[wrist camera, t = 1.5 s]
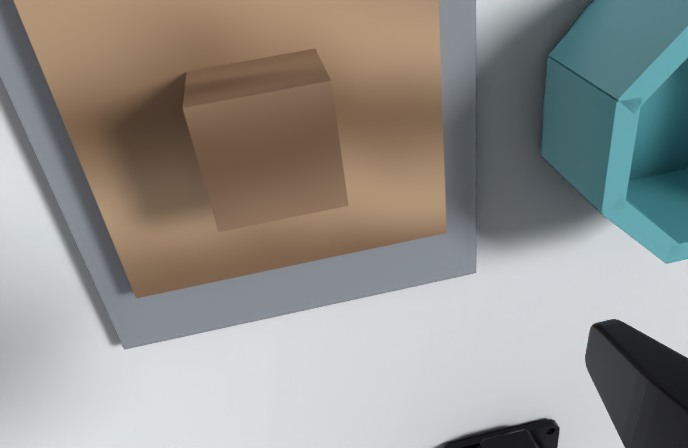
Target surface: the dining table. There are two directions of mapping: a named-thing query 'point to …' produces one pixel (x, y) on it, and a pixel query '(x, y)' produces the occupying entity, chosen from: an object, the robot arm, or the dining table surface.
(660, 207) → the bowl
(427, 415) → the dining table surface
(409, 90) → the lid
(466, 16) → the mat
